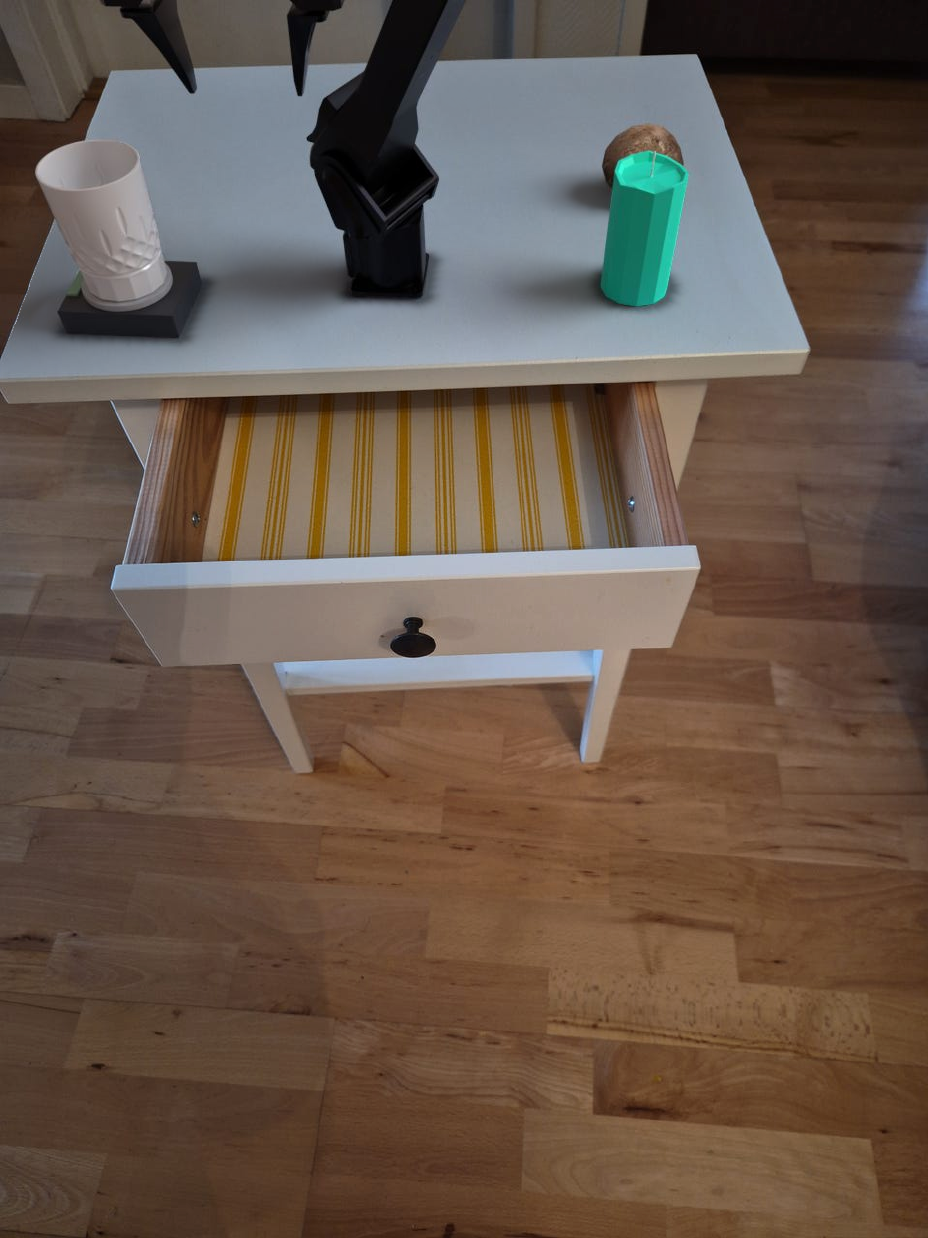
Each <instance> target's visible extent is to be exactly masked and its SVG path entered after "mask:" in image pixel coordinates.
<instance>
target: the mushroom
mask: <svg viewBox="0 0 928 1238" xmlns="http://www.w3.org/2000/svg"><path fill="white" fill-rule="evenodd" d="M645 151H652V152H654V151H656V153H659V154H662V155H665V156H668V157H669V158H671V159H673V160H674V161H676V162H678V163H679V164H681V165H682V166H683V167H685V162H684V157H683V153H682V148H681V147H680V145H679V143H678V141H677V140H676V137H675V136H674V134H673V133H671V132H670V131H669V130H668V129H667V128H665V126H661V125H658V124H657V125H656V124H654V123H649V122H648V123H642V124H637V125H632V126H630V127H628V128H627V129H625V130H623V131H622V132H620V133H618V134H617V135H616V136H615V137H614V138H613V139H612V140H611V142H610V143H609V144H608V146H607V147H606V148H605V150H604V154H603V158H602V163H601V169H602V172H603V177H604V180H605V183H606V184H607V186H608V187H609V189H610V190H611V191H612V189H613V180H614V172H615V169H616V166H617V163H618V161H619V160H621V159H623V158H625V157H627V156H629V155H632V154H636V153H641V152H645Z"/></svg>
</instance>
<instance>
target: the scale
mask: <svg viewBox="0 0 928 1238" xmlns="http://www.w3.org/2000/svg"><path fill="white" fill-rule="evenodd" d="M164 262H165V266H166V270H167V274H166V277H165V280H164V283H163V284H162V285H161V286H160V287H159V288H157V289H156V290H155V291H154V292H153V293H151V294H148V295H146V296H144V297H141V298H139V299H135V300H128V301H121V302H116V301H109V300H102V299H100V298H99V297H97V296H95V295H93V294H92V293H90V291H89V289H88V286H87V284H86V282H85V279H84V277H83V275H82V272H81V270H80V269H79V270H78V272H77V273H76V274H75V277H74V279H73V281H72V282H71V284H70V286H69V288H67V291H66V293H65V297H64V298H63V301H61V304H60V305H59V307H58V310H57V312H56V313H57V314H58V317H59V319H60V322H61V324H62V327H63V328H64V331H65V333H66V334H75V335H76V334H77V335H79V334H80V335H102V336H103V335H104V336H130V337H152V338H153V337H154V338H177V339H178V338H180V337H181V335H182V332H183V330H184V328H185V325H186V323H187V321H188V319H189V317H190V314H191V312H192V310H193V307H194V305H195V302H196V301H197V297H198V295H199V293H200V290H201V288H202V286H203V280H202V277H201V273H200V270H199V265H198V262H197V261H180V260H179V261H178V260H164Z"/></svg>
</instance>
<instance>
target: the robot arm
mask: <svg viewBox="0 0 928 1238" xmlns="http://www.w3.org/2000/svg"><path fill="white" fill-rule="evenodd" d="M289 1H290V2H291V3H292V4H291V5H290V8H289V10H288V11H287V14H286V20H287V21H286V22H287V23H286V24H287V31H288V41H289V47H290V48H289V49H290V50H289V51H290V60H291V69H292V78H293V84H294V88H295V92H296V96H297V97H303V96H304V94H305V89H306V81H307V76H308V69H309V62H310V56H311V48H312V43H313V38H314V33H315V29H316V26H317V24H319V23H324V22H326V21H327V19H328V17H329V14H330V12H334V11H338V10H340V9H342V8H343V5H344V3H345V0H289ZM99 2H100V4H101V5H103V6H104V7H110V8H111V7H115V8H116V7H117V8H119V13H120V16H121V18H123V19H126V20H132V21H133V22H134V23H135V24H136V25H137V26H138V28H140V30H141V31H142V32H143V33H144V34H145V36H146V37H147V39H149V40H150V42H151V43H152V44H153V45H154V47H156V49H157V50H158V51H159V53H160V54H161V56H163V58H164V60H165V61H166V62H167V64H168V65H169V67H170V68H171V69H172V70H173V72H174V74H175V75H176V76H177V78H178V79H179V80H180V82H181V84H182V85H183V86H184V88H185V89H186V90H187V92H188V93H189V94H191V95H194V94H196V92H197V89H198V84H197V79H196V74H195V69H194V66H193V61H192V57H191V54H190V51H189V47H188V43H187V41H186V37H185V33H184V30H183V26H182V24H181V23H182V22H181V20H180V17H179V11H178V1H177V0H99ZM466 2H467V0H392V1H391V3H390V5H389V8H388V10H387V13H386V16H385V18H384V20H383V23H382V25H381V28H380V30H379V33H378V35H377V38H376V40H375V43H374V46H373V48H372V50H371V53H370V55H369V58H368V60H367V63H366V65H365V68H364V70H363V71H362V72H360V73H359V74H357V75H356V76H354V77H353V78H351V79H350V80H348V81H347V82H346V83H344V84H342V85H341V86H340V87H338V88H336V89H335V90H334V91H332V92H331V93H329V94H328V95H326V96H325V97H323V99H322V101H321V103H320V105H319V107H318V112H317V117H316V122H315V126H314V128H313V130H312V131H311V133H309V134H308V135H307V136H306V137H305V138H306V141H307V142H309V143H312V145H311V148H310V151H309V166H310V168H311V169H312V170H313V173H314V177H315V180H316V183H317V186H318V188H319V191H320V194H321V195H322V198H323V200H324V203H325V206H326V208H327V210H328V212H329V215H330V218H331V220H332V222H333V225H334V227H335V228H336V229H337V230H340V231H343V233H342V243H343V250H344V258H345V265H346V272H347V273H346V274H347V277H348V278H349V279H352V280H351V284H350V294H351V295H352V296H355V297H376V298H377V297H379V298H380V297H381V298H405V299H420V298H422V297H423V296H424V292H425V287H426V281H427V275H428V271H429V266H430V265H429V264H430V254H429V253H427V250H426V249H427V248H426V230H425V229H426V228H425V227H426V226H425V209H424V208H425V207H424V204H425V203H426V202H427V201H428V200H431V199H433V198H434V197H435V195H436V191H437V188H438V184H439V181H440V177H439V175H438V173H437V172H436V171H435V169H434V168H433V166H432V165H431V164H430V162H429V160H428V159H427V158H426V157H425V155H424V154H423V152H422V151H421V149H420V148H419V147H418V146H417V144H416V141H417V138H418V133H419V129H420V128H419V127H420V126H419V118H418V105H419V101H420V98H421V96H422V94H423V92H424V90H425V88H426V86H427V84H428V81H429V80H430V77H431V75H432V73H433V71H434V70H435V67H436V65H437V63H438V61H439V59H440V57H441V55H442V52H443V50H444V49H445V46H446V44H447V42H448V40H449V38H450V35H451V34H452V32H453V30H454V27H455V25H456V23H457V21H458V19H459V17H460V15H461V12H462V11H463V9H464V6H465V4H466Z"/></svg>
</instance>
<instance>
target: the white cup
mask: <svg viewBox="0 0 928 1238" xmlns="http://www.w3.org/2000/svg"><path fill="white" fill-rule="evenodd" d="M34 174H35V178H36V180H37V182H38V184H39V186H40V189H41V191H42V193H43V195H44V198H45V200H46V202H47V204H48V207H49V209H50V211H51V213H52V216H53V218H54V221H55V222H56V226H57V227H58V230H59V232H60V233H61V235H62V237H63V239H64V242H65V245H66V246H67V248H68V250H69V252H70V254H71V257H72V259H73V261H74V262H75V263H76V265H77V266H78V269H79V270H81V272H82V275H83V277H84V279H85V282H86V284H87V286H88V289H89V291H90V293H92V294H93V295H95V296H97V297H99V298H100V299H102V300H109V301H116V302H121V301H128V300H135V299H139V298H141V297H144V296H146V295H148V294H151V293H153V292H154V291H155V290H156V289H157V288H159V287H160V286H161V285H162V284H163V283H164V280H165V277H166V274H167V270H166V266H165V262H164V261H165V259H164V255H163V251H162V248H161V241H160V233H159V229H158V225H157V220H156V216H155V211H154V207H153V204H152V200H151V197H150V196H151V195H150V192H149V187H148V184H147V181H146V176H145V172H144V169H143V164H142V160H141V157H140V153H139V152H138V150H137V149H136V148H135V147H133V146H132V145H131V144H128V143H126V142H124V141H119V140H115V139H106V138H105V139H104V138H101V139H100V138H97V139H85V140H80V141H76V142H75V141H74V142H71V143H68V144H65V145H62V146H60V147H58V148H56V149H53V150H52V151H50V152H49V153H47V154H46V155H44V156H43V157H42V158H41V159H40V160H39V161H38V163H37V164H36V167H35V170H34Z"/></svg>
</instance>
